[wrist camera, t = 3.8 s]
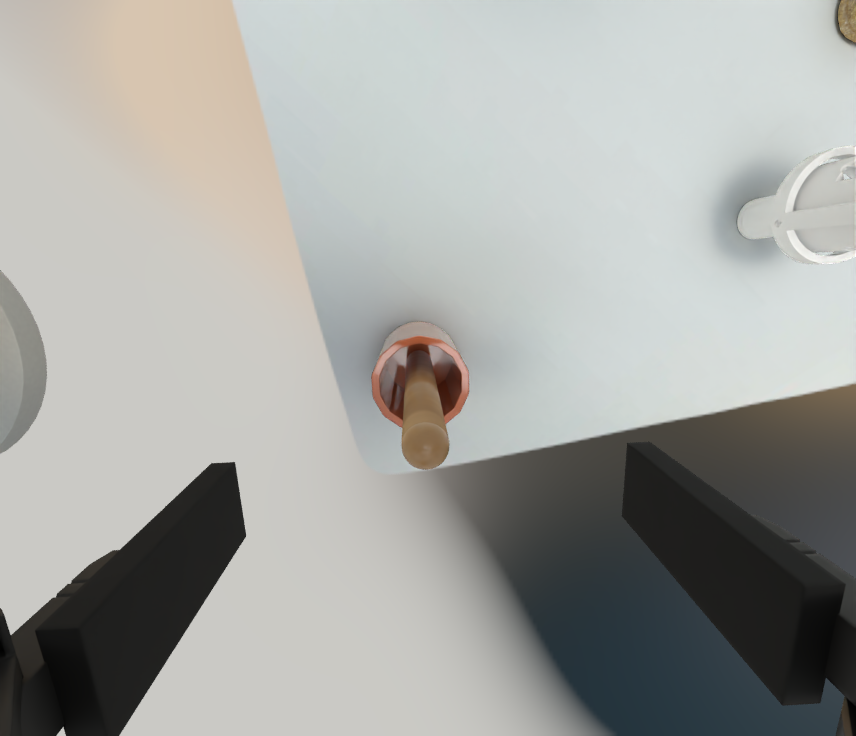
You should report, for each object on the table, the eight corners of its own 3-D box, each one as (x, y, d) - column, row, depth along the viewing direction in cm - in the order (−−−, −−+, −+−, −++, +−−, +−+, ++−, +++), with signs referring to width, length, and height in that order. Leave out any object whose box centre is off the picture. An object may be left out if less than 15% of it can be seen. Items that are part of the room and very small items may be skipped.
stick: (407, 372, 34) (402, 479, 17) (405, 348, 34) (399, 432, 16) (431, 371, 34) (452, 477, 17) (430, 347, 34) (450, 430, 16)
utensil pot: (383, 397, 35) (375, 433, 27) (378, 322, 34) (368, 337, 26) (457, 394, 35) (470, 429, 28) (455, 318, 34) (468, 333, 26)
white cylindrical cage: (797, 159, 32) (1117, 66, 18) (803, 251, 34) (1102, 235, 19) (706, 185, 32) (950, 115, 18) (717, 275, 34) (949, 279, 19)
